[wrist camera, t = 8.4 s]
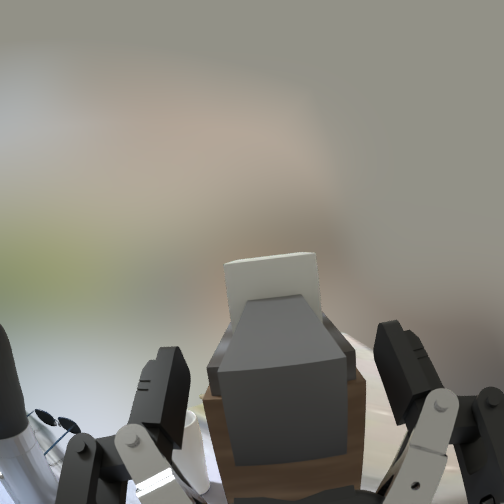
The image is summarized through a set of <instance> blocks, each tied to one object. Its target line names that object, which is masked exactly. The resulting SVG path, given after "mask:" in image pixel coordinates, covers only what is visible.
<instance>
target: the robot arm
mask: <svg viewBox="0 0 504 504" xmlns="http://www.w3.org/2000/svg"><path fill="white" fill-rule="evenodd" d="M373 353H374V360H375V363H376V366H377V369H378V371H379V374H380V377H381V380H382V382H383V385H384V388H385V391H386V394H387V397H388V400H389V403H390V406H391V409H392V412H393V415H394V418H395V421H396V424H397V426H398V425H402V424H406V427H407V431H406V434H405V436H404V438H403V441H402V443H401V445H400V448H399V450H398V452H397V454H396V456H395V458H394V461H393V463H392V465H391V467H390V469H389V470H388V472H387V474H386V475H385V477H384V479H383V480H382V482H381V484H380V486H379V487H378V489H377V491H376V493H374V492H371V491H367V490H359V489H354V485H349V486H344V487H339V488H334V489H328V490H324V491H321V492H319V493H316V494H313V495H311V496H308V497H305V498H302V499H300V500H296V501H289V500H281V499H274V498H267V497H250V498H234V503H231V504H431V501H432V499H433V497H434V494H435V492H436V490H437V487H438V485H439V482H440V480H441V477H442V474H443V472H444V469H445V466H446V463H447V459H448V457H447V455H446V450H447V447H448V444H453V445H454V449H455V452H456V456H457V459H458V463H459V467H460V470H461V474H462V478H463V482H464V487H465V491H466V495H467V500H468V504H504V394H503V392H502V391H501V390H499V389H498V388H495V387H487V388H484V389H483V390H482V391H481V392H480V393H479V395H478V396H456V395H455V394H454V393H453V392H452V391H450V390H448V389H445V388H444V387H443V385H442V383H441V381H440V379H439V377H438V374H437V372H436V370H435V368H434V366H433V364H432V362H431V360H430V358H429V357H428V355H427V353H426V351H425V349H424V347H423V345H422V343H421V341H420V339H419V337H417V336H416V335H415V334H414V333H413V332H412V331H410V330H407V331H403V329H402V327H401V325H400V323H399V322H398V321H397V320H393V321H388V322H383V323H379V325H378V329H377V334H376V339H375V344H374V349H373ZM190 379H191V378H190V371H189V368H188V366H187V364H186V361H185V359H184V357H183V355H182V352H181V350H180V348H179V347H178V346H177V347H160V348H159V351H158V354H157V358H156V360H149V361H148V363H147V364H146V365H145V367H144V368H143V370H142V373H141V376H140V382H139V383H138V388H137V391H136V394H135V398H134V402H133V406H132V410H131V414H130V418H129V421H128V423H127V425H125V426H123V427H122V428H121V429H120V430H119V431H118V432H117V433H116V435H113V436H109V437H103V438H97V439H94V438H93V437H92V436H91V435H89V434H87V433H79V434H76V435H74V436H73V437H72V438H71V439H70V441H69V442H68V445H67V449H66V453H65V457H64V461H63V465H62V470H61V475H60V479H59V482H58V481H57V479H56V477H55V475H54V473H53V472H52V470H51V468H50V466H49V464H48V462H47V460H46V458H45V456H44V454H43V452H42V450H41V448H40V446H39V443H38V441H37V439H36V437H35V435H34V432H33V430H32V428H31V425H30V423H29V420H28V418H27V415H26V412H25V404H24V397H23V393H22V390H21V386H20V383H19V379H18V375H17V371H16V367H15V362H14V358H13V354H12V349H11V346H10V342H9V339H8V337H7V334H6V332H5V330H4V328H3V327H2V325H1V324H0V481H1V483H2V484H3V486H4V487H5V489H6V491H7V492H8V494H9V495H10V497H11V498H12V500H13V501H14V503H15V504H125V503H126V493H127V484H128V480H132V479H133V481H134V483H135V485H136V487H137V490H136V494H137V496H138V498H139V500H140V502H141V504H207V502H206V501H205V500H204V499H203V498H202V497H201V496H200V495H199V494H198V493H197V491H196V490H195V489H194V488H193V486H192V485H191V484H190V482H189V481H188V480H187V478H186V477H185V476H184V474H183V473H182V471H181V470H180V469H179V467H178V466H177V464H176V463H175V462H174V460H173V459H172V452H173V449H177V450H182V442H183V434H184V426H185V419H186V411H187V404H188V397H189V390H190V382H191V380H190Z"/></svg>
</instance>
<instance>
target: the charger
mask: <svg viewBox="0 0 504 504" xmlns="http://www.w3.org/2000/svg"><path fill="white" fill-rule="evenodd" d="M223 266H224V273H225V281H226V289H227V297H228V304H229V312H230V319H231V326H232V333H233V336H232V338H231V341H230V343H229V345H228V348H227V350H226V352H225V355H224V357H223V359H222V362H221V364H220V367H219V369H218V371H217V374H218V380H219V385H220V391H221V397H222V402H223V407H224V413H225V418H226V423H227V428H228V433H229V438H230V443H231V448H232V452H233V457H234V462H235V466H258V465H272V464H283V463H293V462H301V461H308V460H315V459H322V458H328V457H334V456H339V455H344V454H347V430H348V394H347V358H346V356H345V354H344V353H343V351H342V350H341V349H340V347H339V346H338V344H337V343H336V342H335V340H334V339H333V337H332V336H331V335H330V333H329V332H328V330H327V329H326V328H325V326H324V325H323V320H322V308H321V297H320V288H319V277H318V268H317V259H316V253H308V252H298V253H291V254H282V255H274V256H266V257H258V258H250V259H242V260H235V261H232V262H229V263H226V264H224V265H223Z"/></svg>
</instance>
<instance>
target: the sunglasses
mask: <svg viewBox="0 0 504 504" xmlns="http://www.w3.org/2000/svg"><path fill="white" fill-rule="evenodd" d="M35 412H36V414H37V415H38V417H39V418H40V419H41V420H42V421H43V422H44V423H46V424H48V425H50V426H57V424H56V422H55V419H54V418H53V417H52V416H51V415H50V414H49V413H47V412H45V411H43V410H42V411H40V410H38V409H35ZM31 413H32V412H31ZM31 413H30V414H31ZM30 414H28V415H27V417H28V416H29V415H30ZM58 420H59V423H60V424H61V425H60V424H59V423H58V425H59V426H60V427H61V426H62V427H63V428H64V429H66V430H67V432H66V433H65V434H64V435H63V436H62V437H60V438H59V439H58V440H57V441H56V442H55V443H54V444H53V445H52V446H51V447H50V448H49V449H48V450H47V451H46V452H45V453H44V456H45V455H46V454H47V453H48V452H49V451H50V450H51V449H52V448H53V447H54V446H55V445H56V444H57V443H58V442H59V441H60V440H61V439H62V438H63V437H64V436H65V435H66V434H67V433H68V432H71V433H73V434H79V433H81V430H80V428H79V427H78V425H77V424H76V423H75V422H73V421H71V420H70V419H68V418H66V419H65V418H63V417H62V418H60V417H58ZM45 458H46V457H45Z"/></svg>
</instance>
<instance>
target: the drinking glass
mask: <svg viewBox="0 0 504 504" xmlns="http://www.w3.org/2000/svg"><path fill="white" fill-rule="evenodd" d="M172 459H173V460H174V462H175V463H176V464H177V466H178V467H179V469H180V470H181V471H182V473H183V474H184V476H185V477H186V478H187V480H188V481H189V482H190V484H191V485H192V486H193V488H194V489H195V490H196V491H197V493H198V494H199V495H202V494H204V493H206V492H207V491H208V490H209V488H210V481H209V477H208V472H207V466H206V460H205V453H204V446H203V440H202V435H201V430H200V426H199V423H198V420H197V416H196V414H195V413H194V412H192V411H189V410H187V411H186V419H185V426H184V434H183V442H182V450H177V449H173V452H172Z"/></svg>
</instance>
